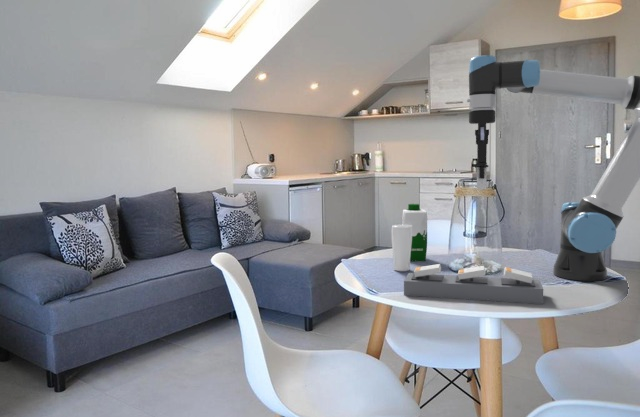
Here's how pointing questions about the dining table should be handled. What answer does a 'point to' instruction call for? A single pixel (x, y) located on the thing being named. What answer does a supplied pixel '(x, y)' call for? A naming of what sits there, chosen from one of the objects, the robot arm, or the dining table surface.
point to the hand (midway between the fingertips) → (481, 189)
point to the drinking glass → (401, 246)
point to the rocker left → (427, 270)
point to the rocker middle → (471, 272)
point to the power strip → (474, 288)
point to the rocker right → (518, 275)
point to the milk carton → (417, 231)
